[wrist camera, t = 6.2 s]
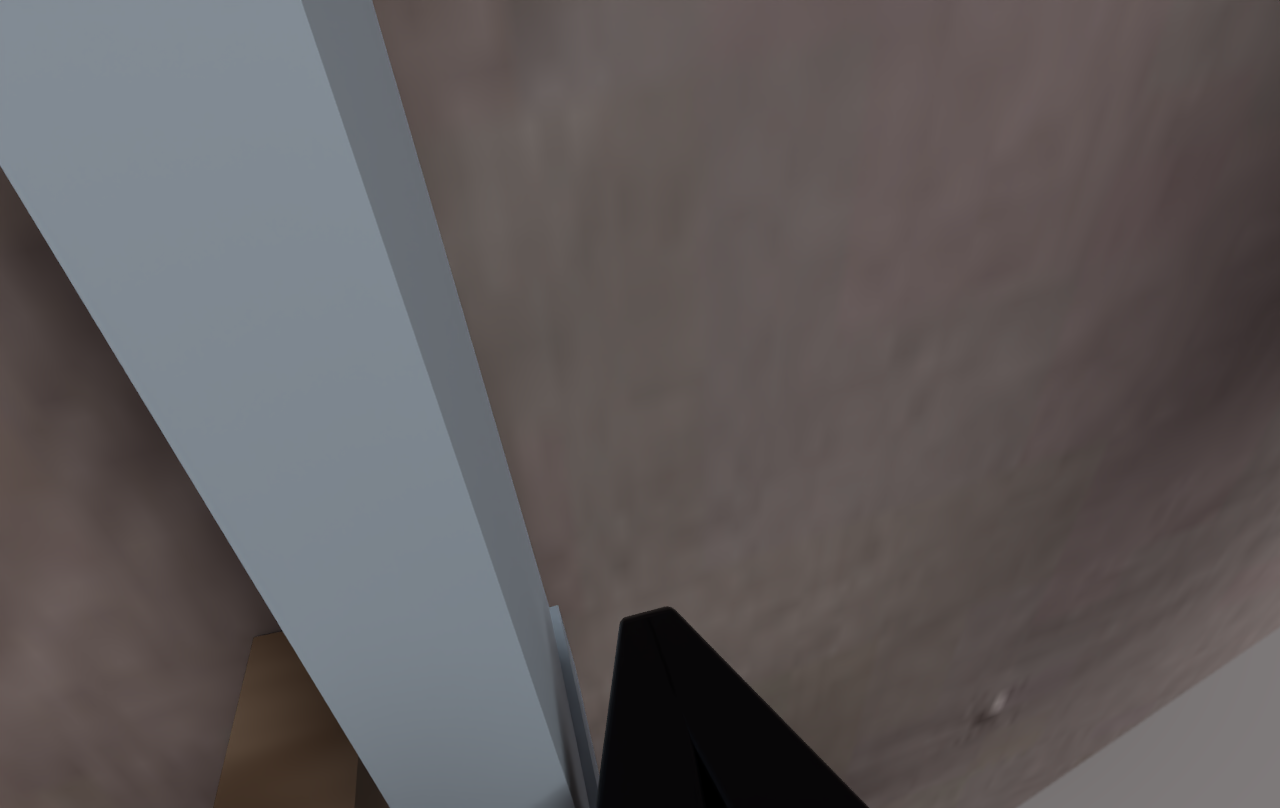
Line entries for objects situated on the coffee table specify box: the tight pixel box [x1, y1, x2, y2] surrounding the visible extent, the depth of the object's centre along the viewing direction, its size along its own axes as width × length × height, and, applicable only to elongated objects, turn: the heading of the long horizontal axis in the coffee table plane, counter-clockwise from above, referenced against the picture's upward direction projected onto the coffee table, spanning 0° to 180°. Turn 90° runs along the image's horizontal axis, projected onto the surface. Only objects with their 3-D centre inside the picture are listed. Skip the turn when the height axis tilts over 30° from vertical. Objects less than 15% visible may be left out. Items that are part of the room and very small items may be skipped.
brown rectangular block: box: [213, 631, 389, 808], centre depth 10 cm, size 2×2×5 cm
